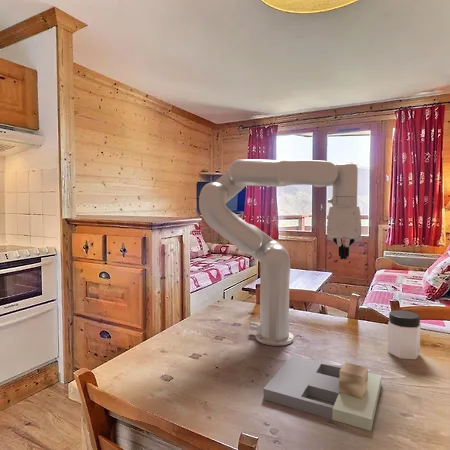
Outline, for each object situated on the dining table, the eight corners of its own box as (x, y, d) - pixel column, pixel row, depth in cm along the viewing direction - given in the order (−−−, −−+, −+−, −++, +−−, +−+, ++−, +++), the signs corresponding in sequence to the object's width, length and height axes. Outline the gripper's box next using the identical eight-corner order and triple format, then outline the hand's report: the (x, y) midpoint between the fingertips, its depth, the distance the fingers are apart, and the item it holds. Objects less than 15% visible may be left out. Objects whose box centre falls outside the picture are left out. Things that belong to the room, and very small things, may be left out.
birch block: (338, 391, 78) (339, 370, 77) (345, 382, 82) (345, 362, 81) (362, 399, 75) (362, 377, 74) (367, 389, 79) (368, 368, 79)
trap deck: (263, 399, 79) (263, 388, 79) (291, 364, 97) (291, 355, 96) (371, 431, 68) (371, 418, 68) (381, 385, 85) (381, 375, 85)
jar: (392, 345, 109) (393, 308, 109) (421, 352, 104) (422, 313, 103) (384, 354, 103) (385, 315, 102) (415, 362, 97) (416, 321, 97)
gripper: (318, 202, 112) (317, 258, 113) (367, 202, 104) (366, 262, 105) (324, 202, 118) (323, 255, 119) (371, 202, 111) (369, 258, 112)
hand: (343, 258), depth 112 cm, fingers closed
